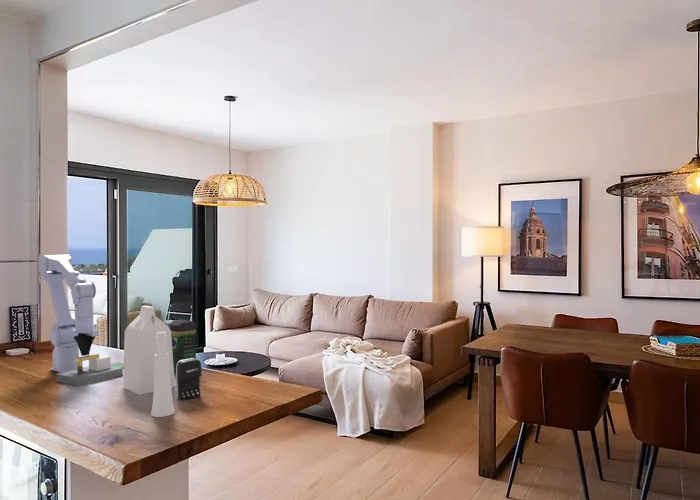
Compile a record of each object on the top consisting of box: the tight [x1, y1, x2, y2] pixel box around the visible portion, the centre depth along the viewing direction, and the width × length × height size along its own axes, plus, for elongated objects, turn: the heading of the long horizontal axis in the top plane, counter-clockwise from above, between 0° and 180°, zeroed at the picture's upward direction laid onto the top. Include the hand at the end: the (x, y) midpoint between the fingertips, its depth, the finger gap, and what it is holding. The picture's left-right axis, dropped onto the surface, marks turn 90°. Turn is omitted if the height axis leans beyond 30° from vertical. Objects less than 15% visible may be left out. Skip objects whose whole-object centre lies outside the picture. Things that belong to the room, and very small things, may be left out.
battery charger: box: [175, 357, 202, 401], centre depth 150 cm, size 7×4×11 cm, turn 133°
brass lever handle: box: [74, 353, 100, 372], centre depth 174 cm, size 2×8×5 cm, turn 147°
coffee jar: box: [168, 319, 197, 374], centre depth 182 cm, size 10×8×19 cm
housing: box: [56, 366, 124, 387], centre depth 175 cm, size 13×16×3 cm
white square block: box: [88, 355, 112, 371], centre depth 178 cm, size 5×5×4 cm
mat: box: [111, 361, 124, 369], centre depth 190 cm, size 9×9×1 cm
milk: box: [122, 305, 176, 396], centre depth 162 cm, size 12×12×26 cm
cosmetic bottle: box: [150, 332, 176, 418], centre depth 136 cm, size 6×6×22 cm
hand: (85, 355), depth 178 cm, fingers closed
